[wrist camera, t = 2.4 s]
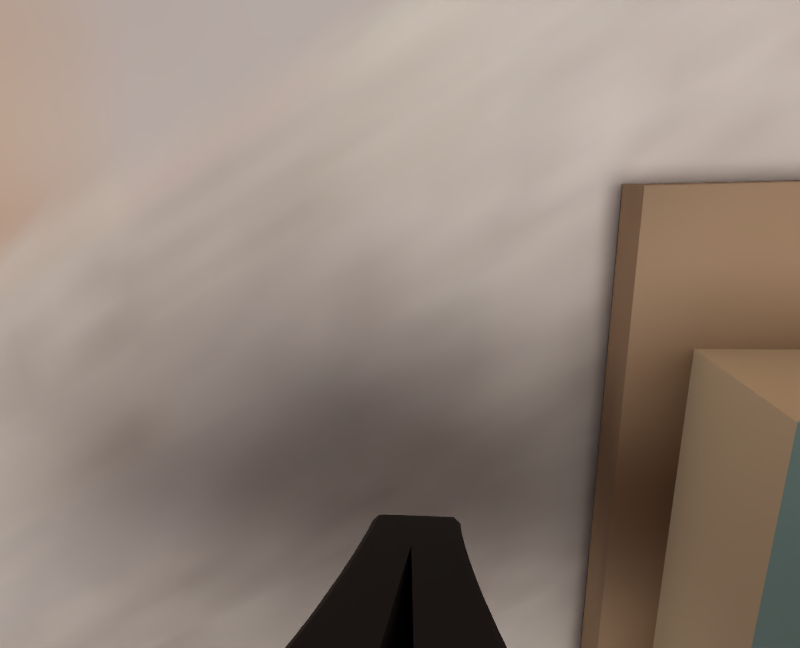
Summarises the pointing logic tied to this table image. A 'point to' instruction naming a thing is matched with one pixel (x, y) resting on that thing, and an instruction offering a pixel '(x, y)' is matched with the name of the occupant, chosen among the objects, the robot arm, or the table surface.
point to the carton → (736, 506)
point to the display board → (675, 365)
